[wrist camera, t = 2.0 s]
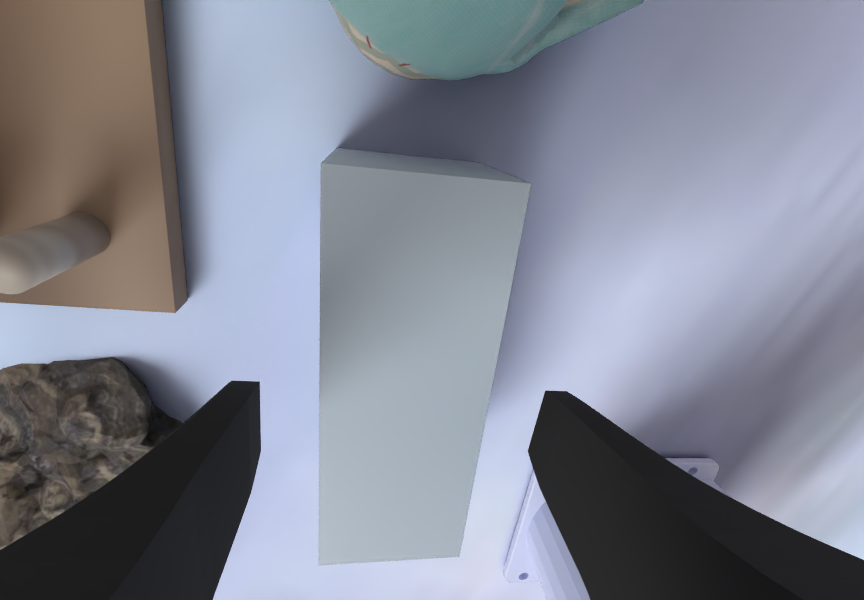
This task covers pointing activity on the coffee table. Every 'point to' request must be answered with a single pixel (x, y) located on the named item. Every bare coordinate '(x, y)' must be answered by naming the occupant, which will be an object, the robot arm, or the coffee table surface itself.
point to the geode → (68, 436)
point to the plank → (408, 346)
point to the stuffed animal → (465, 32)
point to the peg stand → (88, 157)
